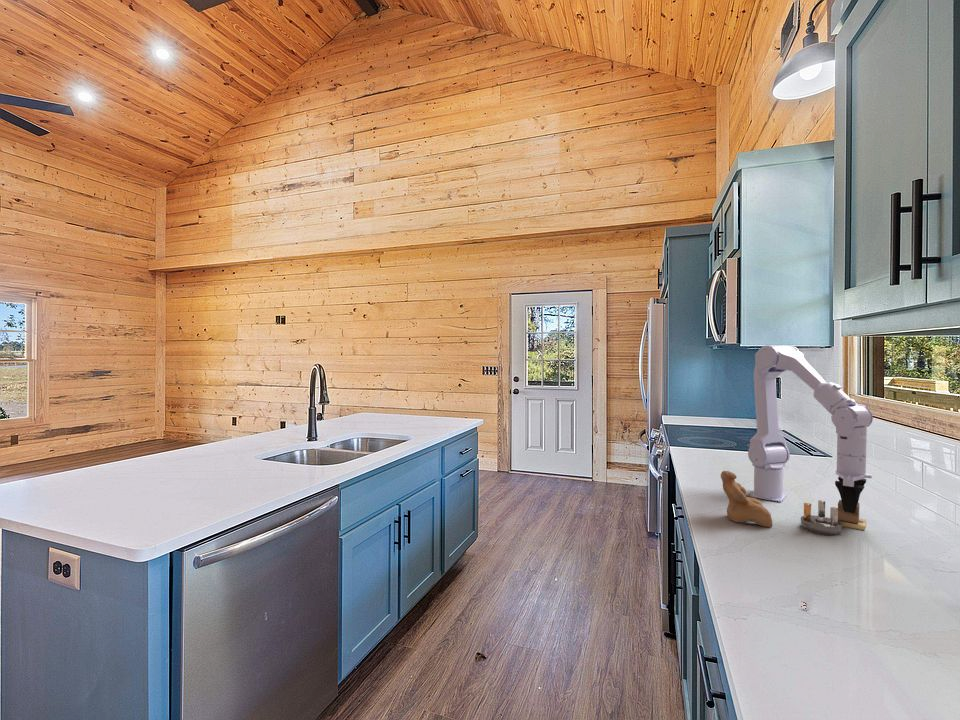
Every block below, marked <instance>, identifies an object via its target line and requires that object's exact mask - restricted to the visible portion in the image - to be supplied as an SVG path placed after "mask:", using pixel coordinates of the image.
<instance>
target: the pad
mask: <svg viewBox="0 0 960 720" xmlns="http://www.w3.org/2000/svg"><path fill="white" fill-rule="evenodd" d="M838 522H840V523H841V524H842V527H845V528H850V529H855V530H861V531H865V530H866V528H867V519H865V518H860V517H859V522H858V523H853V522H848V521H842V520H838Z"/></svg>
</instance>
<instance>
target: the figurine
mask: <svg viewBox="0 0 960 720" xmlns="http://www.w3.org/2000/svg"><path fill="white" fill-rule="evenodd" d="M720 478H721V482H722V489H723V491H724V493H725V495H726V497H727V499H728V505H727V507H726V514H727V518H728V519H729V520H731V521H733V522H735V523H740V524H743V523H746V522H752V523H755V524H756V525H758V526H761V527H764V528H771V527H772V526H773V518H772V515H771V512H770V511H769V509H767V508H766V507H765V506H764V505H763V503H762V502H761V501H760V500H759V499H758V498H754V497H750V496H746V494H747V490H746V488H745V487H744V486H743V485H741V484H740V483H739V482H736V480H735V479H737V474H735V473H734V472H732V471H729V470H723V471H721V473H720Z"/></svg>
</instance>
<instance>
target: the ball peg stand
mask: <svg viewBox="0 0 960 720" xmlns="http://www.w3.org/2000/svg"><path fill="white" fill-rule="evenodd" d="M817 506H818V507H817V515H812V511H811V510H812V504H811V503H808V502H804V503H803V515H802V516H801V517H800V528H801V527H802V528H801V529H803V530H805V531H806V530H807V531H806V532H808V533H812V532H813V534H816V535H820V536H821V535H822V536H831V537H833V536H840V535H842V528H843V526H842V524H841V523H840V522H838V507H834V506H830V507H829V508H830V511H829V513H830V515H829V516H830V517H827V516H826V501H825V500H820V499H819V500H818V501H817Z"/></svg>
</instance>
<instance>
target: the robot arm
mask: <svg viewBox="0 0 960 720" xmlns="http://www.w3.org/2000/svg"><path fill="white" fill-rule="evenodd" d="M754 361H755V362H754V363H755V366H754V370H753V383H754V384H753V386H754V387H753V388H754V389H753V390H754V402H755V404H754V406H755V417H756V419H755V421H756V433H755V434H754V435H753V436H752V437H751V438H750V439H749V448H748V450H747V455H748V456H747V457H748V459H749V461H750V462H751V464H752V466H753V491H752V492H751V493H750V494H749V497H750V498H755V499H762V500H768V501H771V500H772V501H773V502H777V501H778V503H781V502H783V501H784V500H785V498H786V497H787V496H788V493H786V492H784V479H785V478H784V468H786V467H785V466H786V465H785V464H786V463H788V462H789V460H790V457H791V456H790V455H791V453H790V449H789V448H788V446H787V441H786V438H785V437H784V436H783V435H782V434H781V433H780V431H779V430H780V428H779V427H780V426H779V415H778V411H779V410H778V399H777V397H778V396H777V385H776V384H777V383H776V381H777V378H778V377H779V376H780V375H782V374H783V373H784V372H786V371H789V372H792V373H794V374H795V375H796V377H798V378H799V379H800V380H801V381H802V382H803V383H805V384H806V385H807V386H808V387H809V388H811V389H812V390H813V398H814V399H815V400H816V401H817V402H818V403H820V405H821V406H822V407H823V408H824V409H825V410H826V411H827V412H828V413H829V414H830V415H831V422H832V424H833V425H834V427H835V433H836V434H837V435H836V437H837V441H836V444H837V445H836V469H835V475H837V476H838V477H837V480H835V481H834V484H835V487H836V488H837V491H838V493H839V495H840V500H842V506H843V509H844V512H850V513H855V511H856V508H857V503H859V500H860V497H861V493H862V492H863V491H864V489H865V484H866V483H867V479H872V478H873V474H872V473H867V432H868V430H867V428H868V427H870V426H871V425H872V423H873V422H874V421H873V420H874V417H873V414H872V412H871V410H870V409H869V407H868V406H866V405H864V404H858V403H857V402H856V400H854V398H850V396H848V394H846V393H845V392H844V391H843V390H842V386H841V385H840V384H839V383H838V384H837V383H834V382H826V381H825V380H824V378H823V376H821V375H820V374H819V373H818V372H817V371H816V370H815V368H813V366H812V365H811V364H810V363H809V362H808V361H807V360H806V358H805V356H804V353H803V352H801V351H799V349H798V348H797V347H796V346H794V345H790V344H789V345H769V344H768V345H764V346H761V348H759V349H758V351H756V353H755V354H754ZM782 500H783V501H782Z"/></svg>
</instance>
